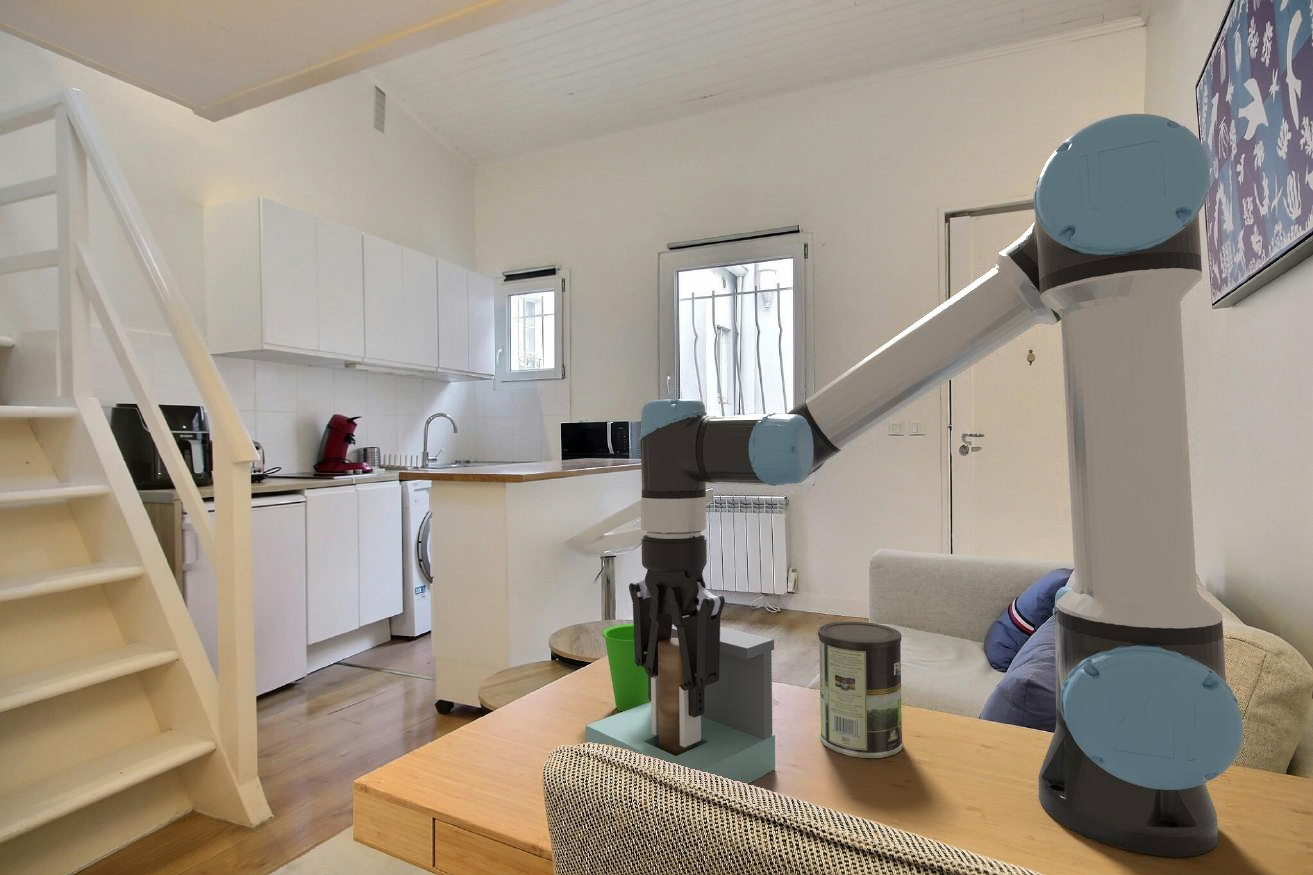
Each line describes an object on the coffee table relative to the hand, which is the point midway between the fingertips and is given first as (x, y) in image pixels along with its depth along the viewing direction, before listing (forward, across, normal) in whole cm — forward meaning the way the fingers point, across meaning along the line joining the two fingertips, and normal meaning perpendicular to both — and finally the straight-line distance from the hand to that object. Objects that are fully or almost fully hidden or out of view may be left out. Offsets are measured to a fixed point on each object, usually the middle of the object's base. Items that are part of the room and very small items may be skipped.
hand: (676, 736), depth 80 cm
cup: (+5, +19, -10) cm, 22 cm away
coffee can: (+5, -10, -24) cm, 26 cm away
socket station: (+5, +2, -2) cm, 6 cm away
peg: (+3, 0, 0) cm, 3 cm away
